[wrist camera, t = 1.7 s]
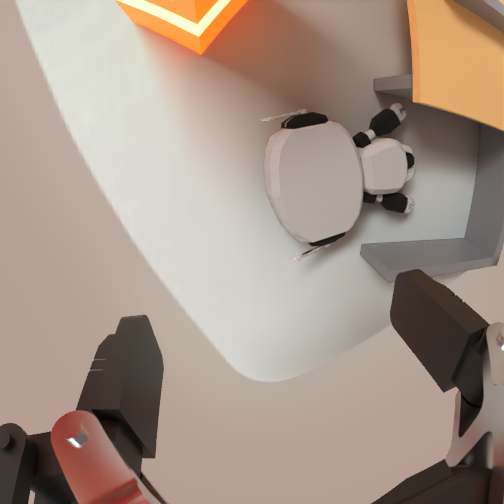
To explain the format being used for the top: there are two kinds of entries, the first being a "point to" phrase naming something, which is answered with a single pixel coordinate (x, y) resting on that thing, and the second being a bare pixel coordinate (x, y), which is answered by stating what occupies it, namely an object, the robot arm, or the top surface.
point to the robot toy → (333, 174)
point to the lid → (459, 57)
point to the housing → (480, 219)
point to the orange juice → (183, 18)
